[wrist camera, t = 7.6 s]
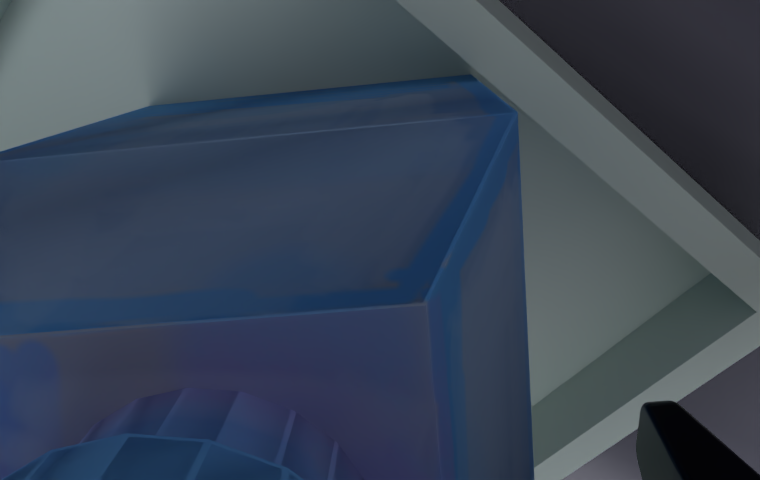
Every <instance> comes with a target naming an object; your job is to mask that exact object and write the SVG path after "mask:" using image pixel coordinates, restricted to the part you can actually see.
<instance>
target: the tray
mask: <svg viewBox="0 0 760 480" xmlns="http://www.w3.org/2000/svg"><path fill="white" fill-rule="evenodd" d="M470 74H471V75H472V76H474V77H475V78H476V79H477V80H479V81H480V82H481V83H482V84H484V85H485V86H486V87H487V88H488V89H490V90H491V91H492V92H493V93H495V94H496V95H497V96H498V97H500V98H501V99H502V100H503V101H505V102H506V103H507V104H508V105H509V106H511V107H512V108H513V109H514V110H516V111H517V112H518V129H519V151H520V173H521V195H522V217H523V239H524V261H525V283H526V305H527V327H528V349H529V371H530V393H531V415H532V437H533V459H534V480H562V479H564V478H565V477H567V476H568V475H570V474H571V473H573V472H574V471H576V470H577V469H579V468H580V467H581V466H583V465H584V464H586V463H587V462H589V461H590V460H592V459H593V458H595V457H596V456H598V455H599V454H601V453H602V452H604V451H605V450H607V449H608V448H610V447H611V446H613V445H614V444H616V443H617V442H618V441H620V440H621V439H623V438H624V437H626V436H627V435H629V434H630V433H632V432H633V431H635V430H636V429H638V425H639V417H640V410H641V407H642V405H643V404H644V403H646V402H654V401H674V402H678V401H679V400H681V399H682V398H684V397H685V396H687V395H688V394H690V393H691V392H693V391H694V390H695V389H697V388H698V387H700V386H701V385H703V384H704V383H706V382H707V381H709V380H710V379H712V378H713V377H715V376H716V375H718V374H719V373H721V372H722V371H724V370H725V369H727V368H728V367H730V366H731V365H732V364H734V363H735V362H737V361H738V360H740V359H741V358H743V357H744V356H746V355H747V354H749V353H750V352H752V351H753V350H755V349H756V348H758V347H759V346H760V240H759V239H757V238H756V237H755V236H754V235H753V234H752V233H751V232H750V231H749V230H748V229H747V228H745V227H744V226H743V225H742V224H741V223H740V222H739V221H738V220H737V219H736V218H735V217H734V216H732V215H731V214H730V213H729V212H728V211H727V210H726V209H725V208H724V207H723V206H722V205H721V204H719V203H718V202H717V201H716V200H715V199H714V198H713V197H712V196H711V195H710V194H709V193H708V192H706V191H705V190H704V189H703V188H702V187H701V186H700V185H699V184H698V183H697V182H696V181H694V180H693V179H692V178H691V177H690V176H689V175H688V174H687V173H686V172H685V171H684V170H683V169H681V168H680V167H679V166H678V165H677V164H676V163H675V162H674V161H673V160H672V159H671V158H670V157H668V156H667V155H666V154H665V153H664V152H663V151H662V150H661V149H660V148H659V147H658V146H657V145H655V144H654V143H653V142H652V141H651V140H650V139H649V138H648V137H647V136H646V135H645V134H643V133H642V132H641V131H640V130H639V129H638V128H637V127H636V126H635V125H634V124H633V123H632V122H630V121H629V120H628V119H627V118H626V117H625V116H624V115H623V114H622V113H621V112H620V111H619V110H617V109H616V108H615V107H614V106H613V105H612V104H611V103H610V102H609V101H608V100H607V99H606V98H604V97H603V96H602V95H601V94H600V93H599V92H598V91H597V90H596V89H595V88H594V87H592V86H591V85H590V84H589V83H588V82H587V81H586V80H585V79H584V78H583V77H582V76H581V75H579V74H578V73H577V72H576V71H575V70H574V69H573V68H572V67H571V66H570V65H569V64H568V63H566V62H565V61H564V60H563V59H562V58H561V57H560V56H559V55H558V54H557V53H556V52H554V51H553V50H552V49H551V48H550V47H549V46H548V45H547V44H546V43H545V42H544V41H543V40H541V39H540V38H539V37H538V36H537V35H536V34H535V33H534V32H533V31H532V30H531V29H530V28H528V27H527V26H526V25H525V24H524V23H523V22H522V21H521V20H520V19H519V18H518V17H517V16H515V15H514V14H513V13H512V12H511V11H510V10H509V9H508V8H507V7H506V6H505V5H503V4H502V3H501V2H500V1H499V0H0V151H4V150H7V149H10V148H13V147H17V146H20V145H23V144H26V143H30V142H33V141H36V140H39V139H43V138H46V137H49V136H53V135H56V134H59V133H62V132H66V131H69V130H72V129H75V128H79V127H82V126H85V125H88V124H92V123H95V122H98V121H102V120H105V119H108V118H111V117H115V116H118V115H121V114H124V113H128V112H131V111H134V110H137V109H141V108H144V107H147V106H154V105H164V104H174V103H184V102H195V101H205V100H215V99H225V98H235V97H245V96H256V95H266V94H276V93H286V92H296V91H307V90H317V89H327V88H337V87H347V86H357V85H368V84H378V83H388V82H398V81H408V80H419V79H429V78H439V77H449V76H459V75H470Z"/></svg>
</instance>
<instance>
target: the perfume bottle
mask: <svg viewBox="0 0 760 480" xmlns="http://www.w3.org/2000/svg"><path fill="white" fill-rule="evenodd" d="M0 480H534V459H533V437H532V415H531V393H530V371H529V349H528V327H527V305H526V283H525V261H524V239H523V217H522V195H521V173H520V151H519V129H518V112H517V111H516V110H514V109H513V108H512V107H511V106H509V105H508V104H507V103H506V102H505V101H503V100H502V99H501V98H500V97H498V96H497V95H496V94H495V93H493V92H492V91H491V90H490V89H488V88H487V87H486V86H485V85H484V84H482V83H481V82H480V81H479V80H477V79H476V78H475V77H474V76H472V75H471V74H470V75H459V76H449V77H439V78H429V79H419V80H408V81H398V82H388V83H378V84H368V85H357V86H347V87H337V88H327V89H317V90H307V91H296V92H286V93H276V94H266V95H256V96H245V97H235V98H225V99H215V100H205V101H195V102H184V103H174V104H164V105H154V106H147V107H144V108H141V109H137V110H134V111H131V112H128V113H124V114H121V115H118V116H115V117H111V118H108V119H105V120H102V121H98V122H95V123H92V124H88V125H85V126H82V127H79V128H75V129H72V130H69V131H66V132H62V133H59V134H56V135H53V136H49V137H46V138H43V139H39V140H36V141H33V142H30V143H26V144H23V145H20V146H17V147H13V148H10V149H7V150H4V151H0Z"/></svg>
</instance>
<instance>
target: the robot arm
mask: <svg viewBox="0 0 760 480" xmlns="http://www.w3.org/2000/svg"><path fill="white" fill-rule="evenodd" d="M636 452H637V459H638V464H639V468H640V472H641V476H642V480H760V475H759V474H758V473H757V472H756V471H754V470H753V469H752V468H751V467H750V466H749V465H748V464H746V463H745V462H744V461H743V460H742V459H741V458H740V457H738V456H737V455H736V454H735V453H734V452H733V451H732V450H731V449H729V448H728V447H727V446H726V445H725V444H724V443H723V442H721V441H720V440H719V439H718V438H717V437H716V436H715V435H713V434H712V433H711V432H710V431H709V430H708V429H707V428H705V427H704V426H703V425H702V424H701V423H700V422H699V421H697V420H696V419H695V418H694V417H693V416H692V415H691V414H689V413H688V412H687V411H686V410H685V409H684V408H683V407H681V406H680V405H679V404H678V403H676V402H674V401H654V402H646V403H644V404H643V405H642V407H641V410H640V417H639V425H638V434H637V442H636Z"/></svg>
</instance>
